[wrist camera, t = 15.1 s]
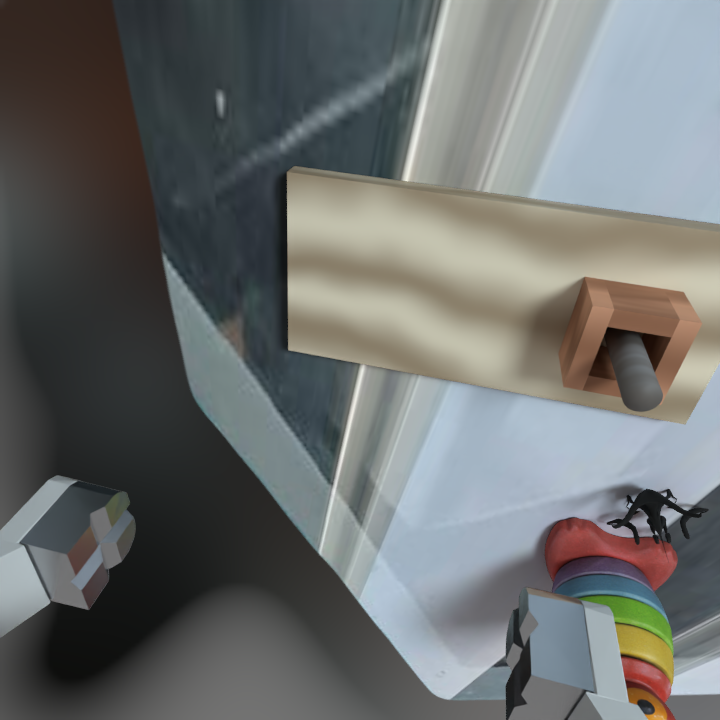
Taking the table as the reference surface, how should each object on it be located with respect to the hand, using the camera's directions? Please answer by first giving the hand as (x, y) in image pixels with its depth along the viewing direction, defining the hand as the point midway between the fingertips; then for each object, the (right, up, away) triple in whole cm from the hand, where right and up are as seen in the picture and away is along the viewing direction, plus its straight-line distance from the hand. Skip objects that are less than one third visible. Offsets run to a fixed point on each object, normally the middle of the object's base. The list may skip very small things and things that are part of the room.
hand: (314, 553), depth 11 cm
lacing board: (+11, +9, +27) cm, 31 cm away
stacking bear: (+24, -15, +40) cm, 49 cm away
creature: (+26, -8, +35) cm, 44 cm away
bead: (+18, +6, +25) cm, 31 cm away
